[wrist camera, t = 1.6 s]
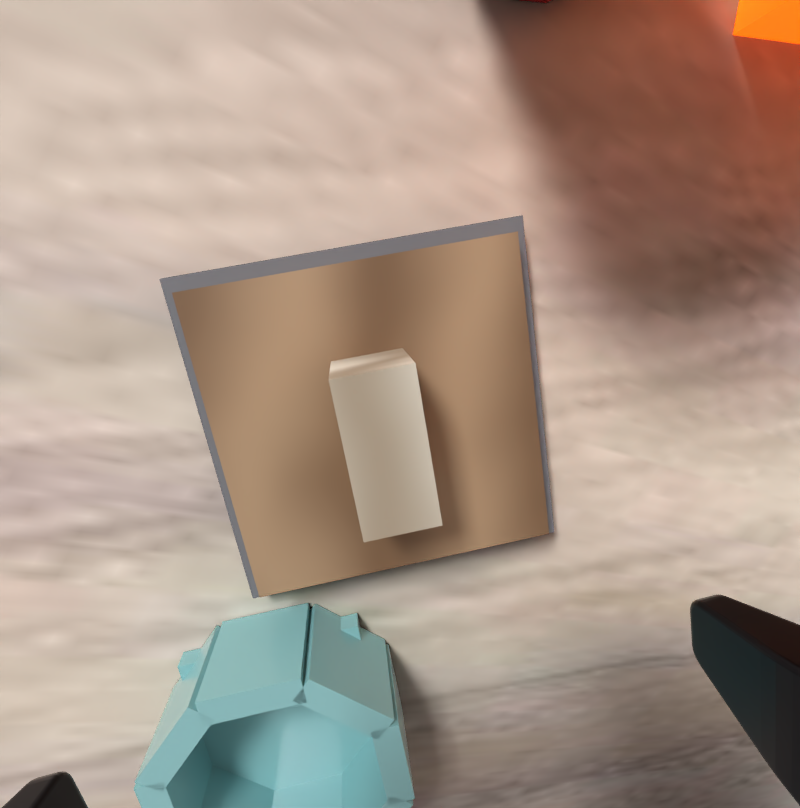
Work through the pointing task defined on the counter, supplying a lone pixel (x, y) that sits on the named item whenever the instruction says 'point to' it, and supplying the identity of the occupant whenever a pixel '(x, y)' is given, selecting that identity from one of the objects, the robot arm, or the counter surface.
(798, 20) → the orange juice
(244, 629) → the bowl
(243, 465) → the lid
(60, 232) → the counter surface
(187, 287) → the mat
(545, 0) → the plastic cup
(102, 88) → the counter surface
